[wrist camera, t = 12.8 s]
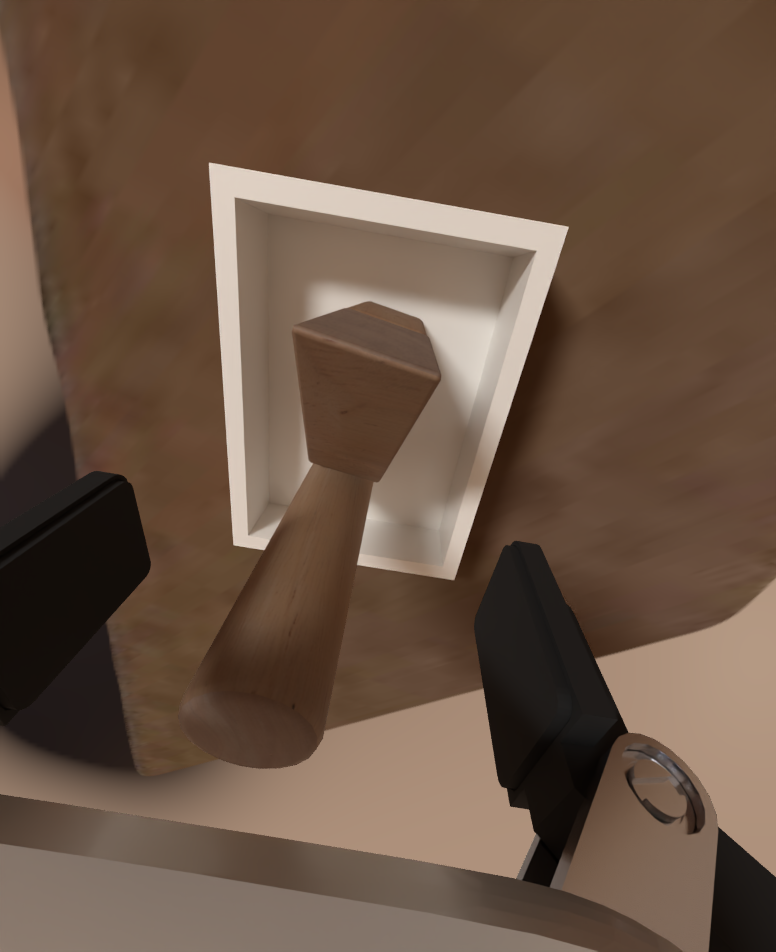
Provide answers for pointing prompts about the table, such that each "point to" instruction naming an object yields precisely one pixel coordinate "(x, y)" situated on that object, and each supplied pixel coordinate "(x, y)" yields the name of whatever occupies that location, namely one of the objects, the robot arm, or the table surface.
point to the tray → (392, 285)
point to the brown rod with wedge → (312, 541)
